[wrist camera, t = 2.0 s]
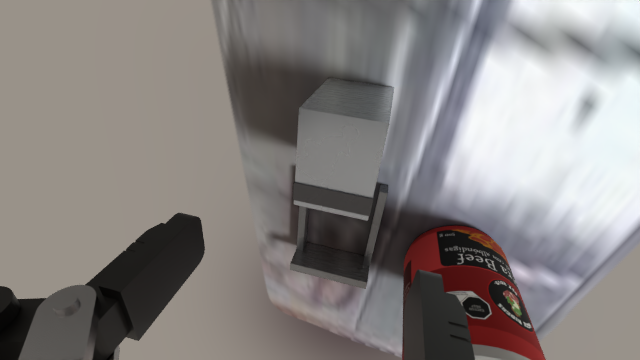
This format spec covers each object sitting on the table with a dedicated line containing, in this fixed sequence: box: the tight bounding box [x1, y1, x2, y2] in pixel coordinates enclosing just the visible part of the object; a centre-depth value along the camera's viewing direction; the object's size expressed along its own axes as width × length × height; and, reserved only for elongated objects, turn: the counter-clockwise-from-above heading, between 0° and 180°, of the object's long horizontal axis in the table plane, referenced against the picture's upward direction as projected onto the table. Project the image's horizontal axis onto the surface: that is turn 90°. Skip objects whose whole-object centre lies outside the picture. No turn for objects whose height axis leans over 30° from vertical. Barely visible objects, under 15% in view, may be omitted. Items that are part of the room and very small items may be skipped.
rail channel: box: [290, 184, 388, 289], centre depth 26 cm, size 9×7×3 cm
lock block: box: [293, 78, 394, 221], centre depth 19 cm, size 6×5×7 cm
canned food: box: [402, 225, 546, 360], centre depth 22 cm, size 8×8×11 cm
